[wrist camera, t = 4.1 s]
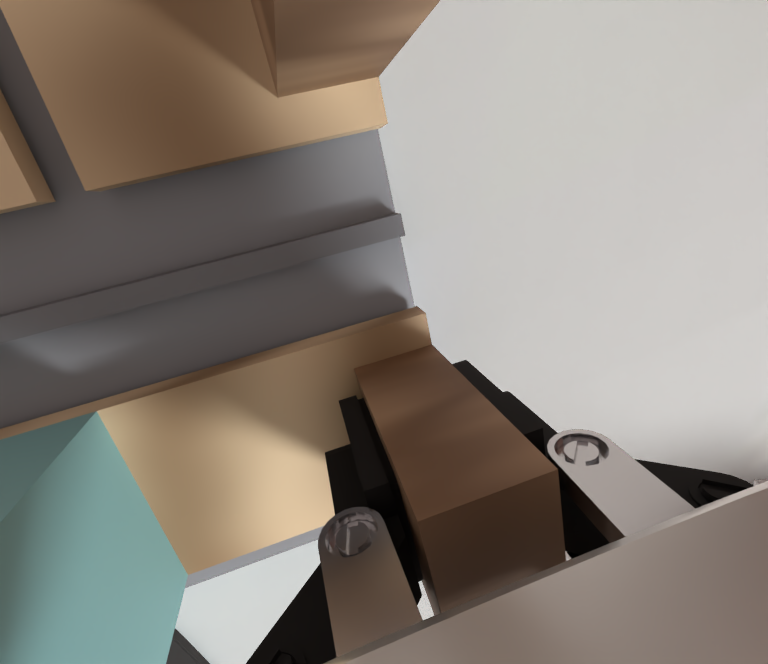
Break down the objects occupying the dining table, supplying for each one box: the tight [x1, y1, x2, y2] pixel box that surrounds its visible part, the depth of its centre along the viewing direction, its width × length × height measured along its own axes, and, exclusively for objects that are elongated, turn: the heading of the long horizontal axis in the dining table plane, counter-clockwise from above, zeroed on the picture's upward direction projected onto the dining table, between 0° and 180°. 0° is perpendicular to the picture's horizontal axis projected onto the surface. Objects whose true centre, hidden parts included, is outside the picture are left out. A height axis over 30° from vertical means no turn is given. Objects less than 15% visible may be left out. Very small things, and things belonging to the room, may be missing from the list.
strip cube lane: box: [0, 306, 566, 615], centre depth 9 cm, size 15×6×7 cm, turn 103°
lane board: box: [0, 7, 415, 588], centre depth 11 cm, size 14×20×2 cm
